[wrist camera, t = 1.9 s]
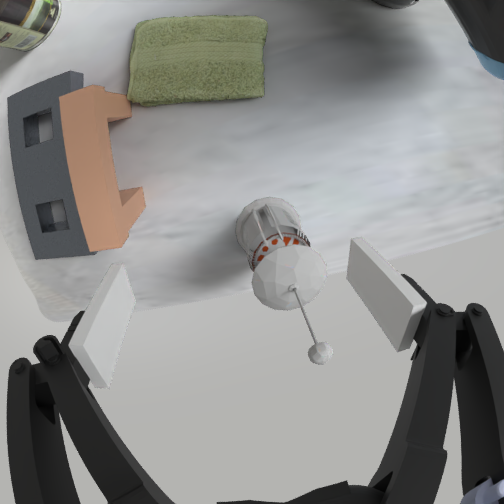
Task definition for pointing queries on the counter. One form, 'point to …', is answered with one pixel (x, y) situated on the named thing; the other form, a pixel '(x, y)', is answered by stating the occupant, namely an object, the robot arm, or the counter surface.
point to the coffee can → (27, 22)
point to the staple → (98, 166)
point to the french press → (282, 261)
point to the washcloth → (197, 59)
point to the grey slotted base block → (45, 169)
